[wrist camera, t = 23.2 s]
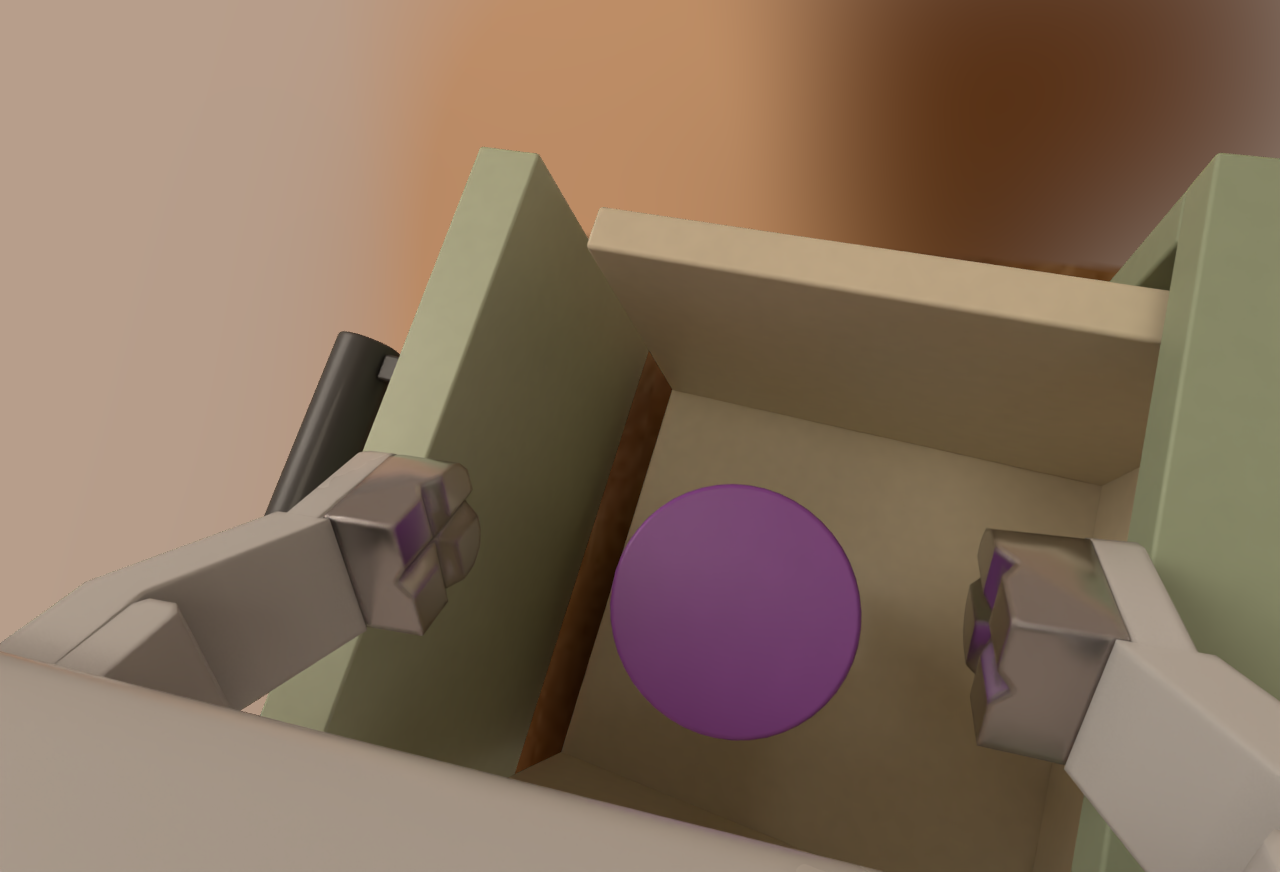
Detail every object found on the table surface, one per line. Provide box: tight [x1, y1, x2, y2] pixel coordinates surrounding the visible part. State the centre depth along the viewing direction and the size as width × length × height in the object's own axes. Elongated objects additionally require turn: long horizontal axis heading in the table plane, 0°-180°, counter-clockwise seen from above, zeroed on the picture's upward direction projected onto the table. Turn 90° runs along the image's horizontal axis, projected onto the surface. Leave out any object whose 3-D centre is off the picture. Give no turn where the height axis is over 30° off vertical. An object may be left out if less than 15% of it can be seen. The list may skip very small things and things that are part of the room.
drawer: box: [260, 147, 1170, 872], centre depth 14 cm, size 18×12×9 cm
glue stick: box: [610, 484, 862, 741], centre depth 13 cm, size 3×3×8 cm
